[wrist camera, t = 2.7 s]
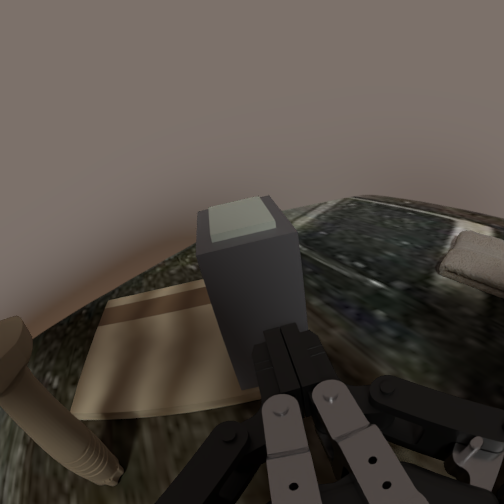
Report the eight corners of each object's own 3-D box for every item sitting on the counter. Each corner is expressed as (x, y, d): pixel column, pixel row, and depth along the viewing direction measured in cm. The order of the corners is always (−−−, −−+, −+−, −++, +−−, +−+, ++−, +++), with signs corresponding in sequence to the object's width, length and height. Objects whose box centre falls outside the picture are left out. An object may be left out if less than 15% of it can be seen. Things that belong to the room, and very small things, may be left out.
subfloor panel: (76, 419, 22) (69, 413, 21) (111, 307, 40) (108, 300, 39) (318, 383, 23) (318, 375, 23) (271, 270, 41) (269, 263, 40)
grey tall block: (241, 390, 23) (193, 247, 17) (231, 330, 30) (196, 206, 24) (311, 372, 23) (296, 223, 17) (287, 316, 30) (268, 189, 24)
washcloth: (548, 323, 19) (558, 301, 18) (434, 278, 32) (437, 257, 31) (550, 274, 25) (556, 256, 23) (457, 242, 38) (460, 225, 37)
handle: (74, 467, 17) (-44, 348, 10) (126, 438, 20) (22, 306, 13) (93, 507, 13) (-54, 395, 6) (151, 476, 17) (23, 347, 10)
